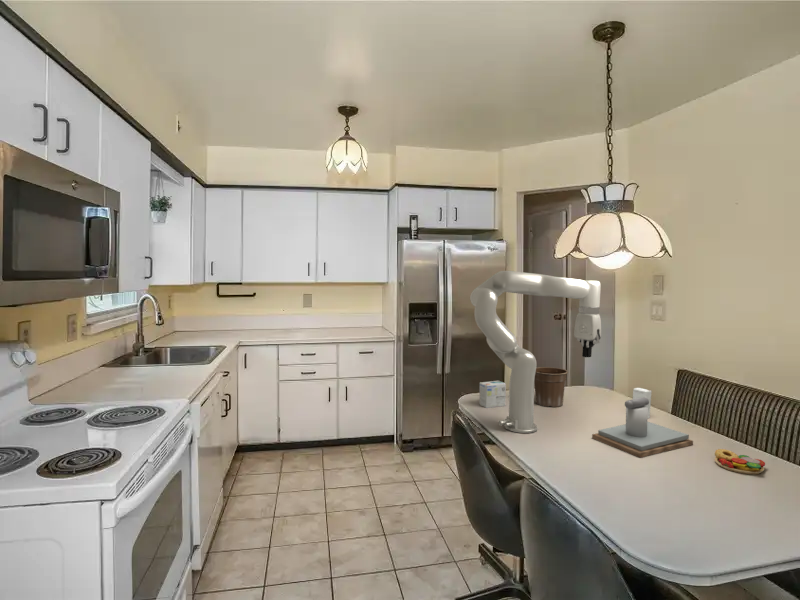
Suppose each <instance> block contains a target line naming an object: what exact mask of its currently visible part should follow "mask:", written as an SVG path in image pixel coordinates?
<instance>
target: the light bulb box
mask: <svg viewBox="0 0 800 600" xmlns="http://www.w3.org/2000/svg"><path fill="white" fill-rule="evenodd" d="M506 386H507V384H506V382H503V381H500V380H493V381H492V380H491V381H483V382H481V381H480V382H479V405H480V406H482V407H484V408H485V409H490V408H498V407H505V406H506V403H507V402H506V401H507V400H506V398H507V395H506V392H507V390H506V389H507V387H506Z"/></svg>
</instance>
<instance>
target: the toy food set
mask: <svg viewBox="0 0 800 600" xmlns="http://www.w3.org/2000/svg"><path fill="white" fill-rule="evenodd" d="M714 462H715V463H716V464H717V465H718V466H719V467H721V468H723V469H725V470H728V471H730V472H734V473H738V474H743V475H759V474H760V473H763V472H764V471H765V465H766V462H765V461H764V460H762V459H759V458H752V457H751V456H749V455H745V454H740V455H738V454H736V453H735V452H734V451H732V450H729V449H726V448H725V449H723V448H718V449H715V451H714Z"/></svg>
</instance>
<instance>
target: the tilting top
mask: <svg viewBox="0 0 800 600" xmlns="http://www.w3.org/2000/svg"><path fill="white" fill-rule="evenodd" d="M648 404H649V400H648V399H647V398H645V397H643V398H638V399H633V398H632V399H628V400H625V402H624V407H625V424H621V425H617V426H616V425H615V426H612V427H607V428H603V429H599V430H598V431H597V433H598V434H599V435H602V436H604V437H607V438H609V439H612V440H615V441H617V442H620V443H622V444H625V445H627V446H630V447H632V448H635V449H638V450H640V451H644V450H647V449H651V448H655V447H659V446H663V445H667V444H670V443H674V442H678V441H682V440H686V439H689V440H690V437H689V436H690V435H689V434H688V433H684V432H681V431H678V430H675V429H672V428H669V427H666V426H663V425H660V424H656V423H653V422H650V421H649V420H648V419H649V418H648V408H647V407H646V405H648Z"/></svg>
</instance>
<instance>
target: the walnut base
mask: <svg viewBox="0 0 800 600" xmlns="http://www.w3.org/2000/svg"><path fill="white" fill-rule="evenodd" d="M591 436H592V438H591V439H593V440H595V441H598V442H600V441H601V443H603V444H606V445H607V446H610V447H613V448H615V449H618V450H620V451H623V452H625V453H628V454H630V455H632V456H635V457H637V458H645V457H649V456H652V455H656V454H661V453H665V452H669V451H674V450H676V449H681V448H686V447H691V446H693V445H694V440H692V439H690V438H689V439H686V440H682V441H678V442H674V443H670V444H667V445H663V446H659V447H655V448H651V449H647V450H644V451H640V450H638V449H635V448H632V447H630V446H627V445H625V444H622V443H620V442H617V441H615V440H612V439H609V438H607V437H604V436H602V435H599V434H598V432H597V433H593V434H592V435H591Z"/></svg>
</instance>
